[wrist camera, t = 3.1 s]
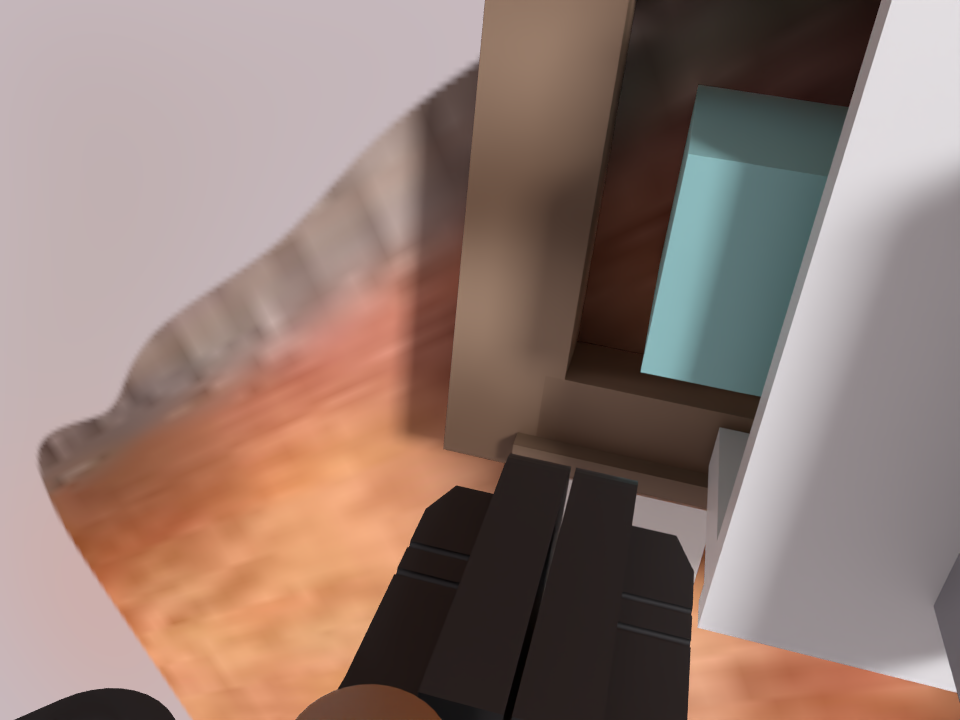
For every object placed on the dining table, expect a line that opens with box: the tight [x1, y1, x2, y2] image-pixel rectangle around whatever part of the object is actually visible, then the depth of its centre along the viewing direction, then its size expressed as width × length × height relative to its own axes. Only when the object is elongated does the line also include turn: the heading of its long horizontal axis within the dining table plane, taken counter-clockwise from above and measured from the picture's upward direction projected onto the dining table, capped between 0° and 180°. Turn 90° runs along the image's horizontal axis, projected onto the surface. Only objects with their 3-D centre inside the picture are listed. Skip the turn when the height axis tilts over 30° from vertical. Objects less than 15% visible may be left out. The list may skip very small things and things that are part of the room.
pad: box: [562, 478, 707, 585], centre depth 27 cm, size 6×6×1 cm
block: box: [641, 84, 849, 397], centre depth 19 cm, size 4×4×6 cm
